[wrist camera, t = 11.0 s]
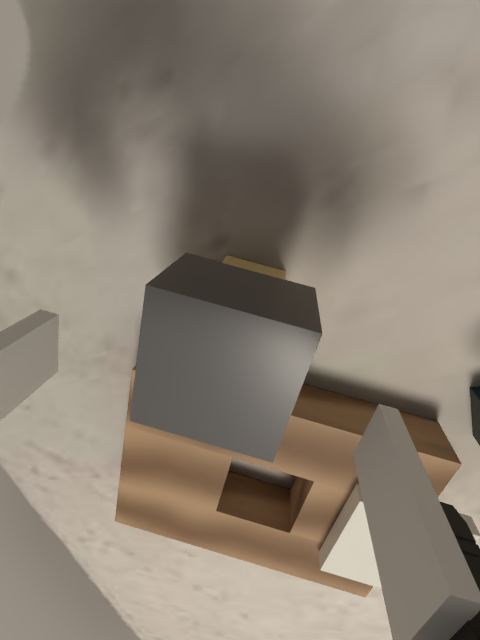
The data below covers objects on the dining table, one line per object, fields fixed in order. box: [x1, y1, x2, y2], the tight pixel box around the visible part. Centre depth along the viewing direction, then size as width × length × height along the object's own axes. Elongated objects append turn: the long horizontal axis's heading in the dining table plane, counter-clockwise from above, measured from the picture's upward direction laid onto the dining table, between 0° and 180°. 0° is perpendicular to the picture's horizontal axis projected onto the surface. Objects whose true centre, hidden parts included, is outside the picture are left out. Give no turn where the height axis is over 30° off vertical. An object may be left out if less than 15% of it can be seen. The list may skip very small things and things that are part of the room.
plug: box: [130, 253, 322, 463], centre depth 19 cm, size 6×6×11 cm
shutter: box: [319, 484, 480, 589], centre depth 24 cm, size 8×8×3 cm
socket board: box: [115, 366, 461, 597], centre depth 28 cm, size 16×22×4 cm
